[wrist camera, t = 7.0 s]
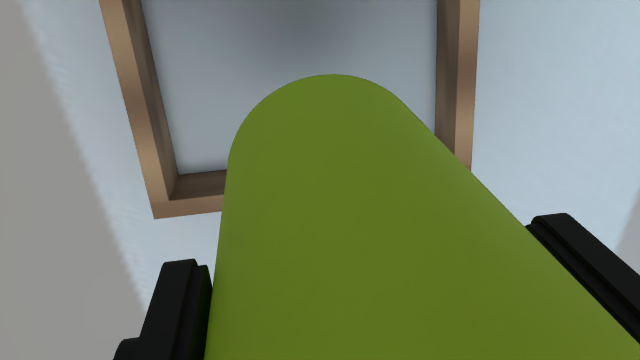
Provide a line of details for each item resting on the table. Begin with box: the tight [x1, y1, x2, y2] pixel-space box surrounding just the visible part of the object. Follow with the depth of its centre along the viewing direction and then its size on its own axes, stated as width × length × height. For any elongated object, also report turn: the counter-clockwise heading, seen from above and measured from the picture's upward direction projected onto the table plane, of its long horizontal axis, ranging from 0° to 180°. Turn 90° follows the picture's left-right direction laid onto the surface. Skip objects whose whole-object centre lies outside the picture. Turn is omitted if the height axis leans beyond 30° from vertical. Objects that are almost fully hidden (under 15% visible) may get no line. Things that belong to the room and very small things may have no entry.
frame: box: [99, 0, 480, 219], centre depth 27 cm, size 13×18×4 cm
